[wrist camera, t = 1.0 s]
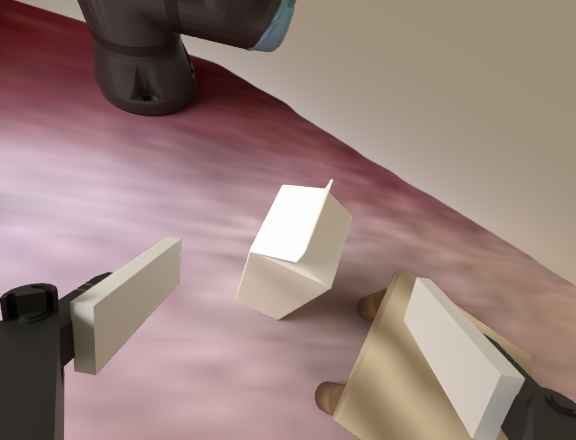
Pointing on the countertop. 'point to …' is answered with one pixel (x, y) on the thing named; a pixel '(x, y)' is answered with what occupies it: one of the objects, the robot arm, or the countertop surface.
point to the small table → (398, 377)
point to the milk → (295, 251)
